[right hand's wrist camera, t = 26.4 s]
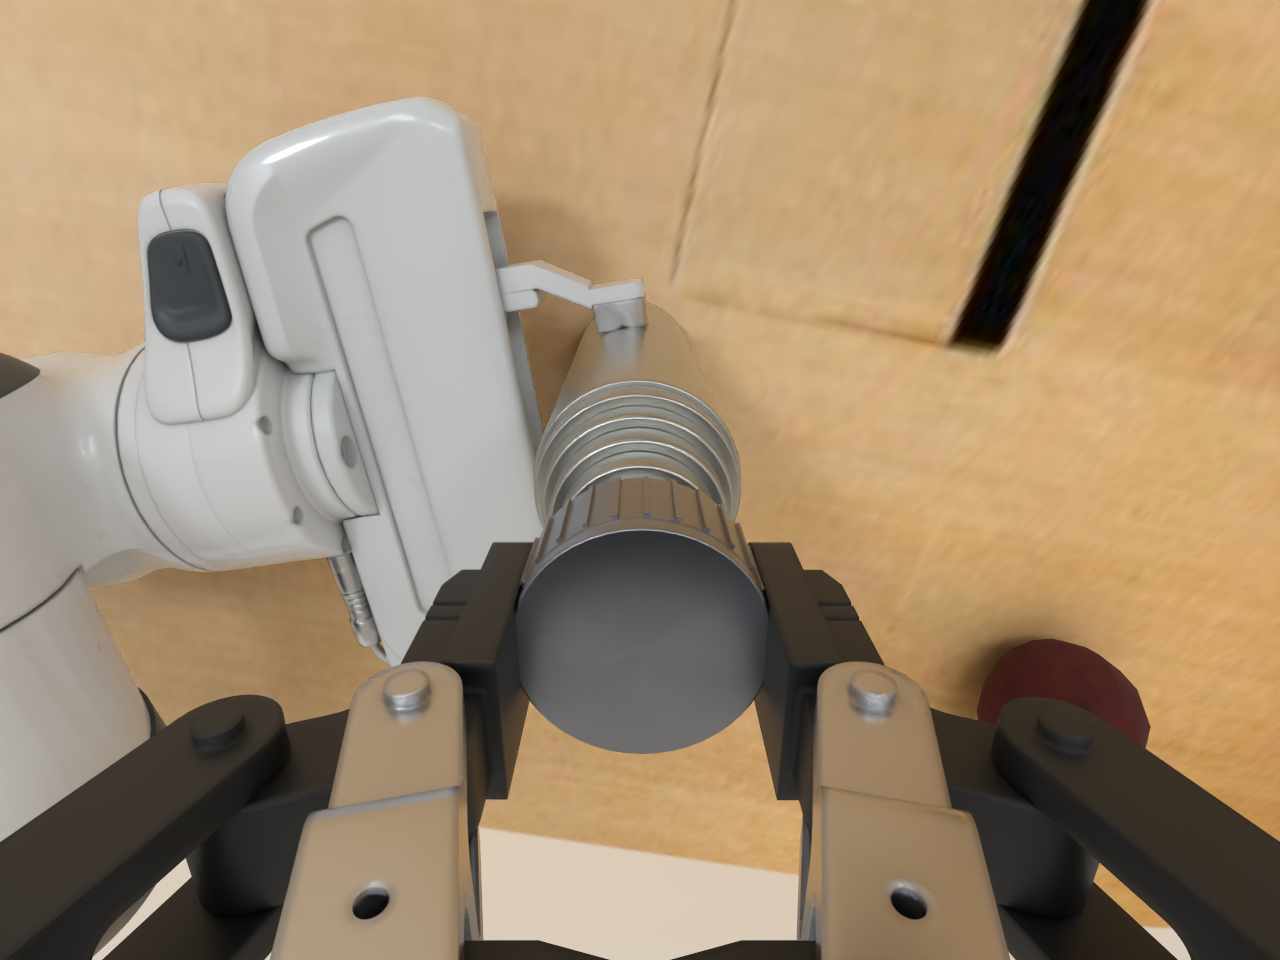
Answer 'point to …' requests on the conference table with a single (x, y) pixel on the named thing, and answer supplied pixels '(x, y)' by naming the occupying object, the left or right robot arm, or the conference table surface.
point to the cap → (641, 618)
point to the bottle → (635, 419)
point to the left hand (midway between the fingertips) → (659, 389)
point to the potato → (1065, 685)
